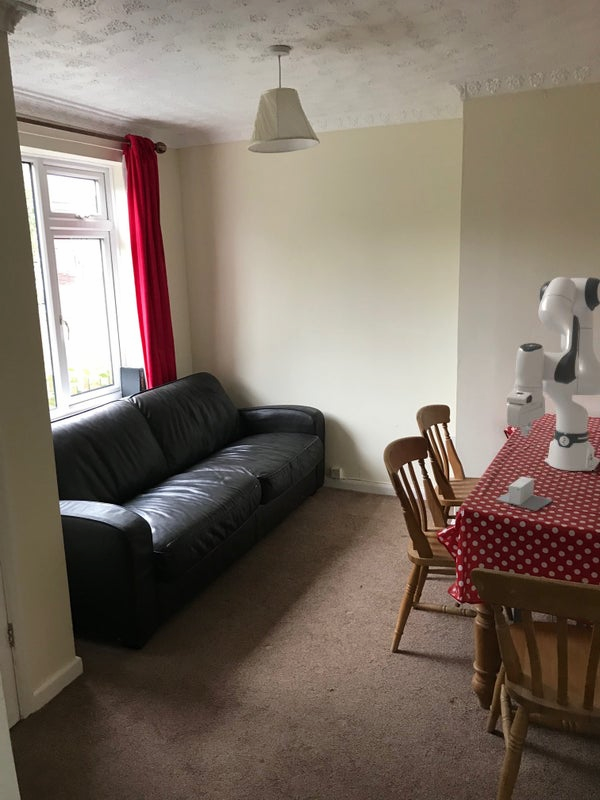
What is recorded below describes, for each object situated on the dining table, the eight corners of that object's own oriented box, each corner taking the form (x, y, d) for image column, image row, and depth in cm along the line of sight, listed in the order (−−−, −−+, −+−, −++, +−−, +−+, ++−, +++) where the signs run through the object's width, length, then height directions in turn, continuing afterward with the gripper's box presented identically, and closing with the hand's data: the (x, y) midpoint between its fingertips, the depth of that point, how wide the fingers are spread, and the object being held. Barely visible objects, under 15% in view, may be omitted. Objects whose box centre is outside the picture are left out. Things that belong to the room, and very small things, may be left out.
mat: (512, 491, 230) (512, 490, 230) (552, 501, 220) (552, 499, 220) (495, 500, 221) (495, 499, 221) (535, 510, 212) (536, 509, 212)
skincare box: (521, 476, 226) (508, 485, 216) (534, 478, 223) (521, 487, 214) (520, 493, 227) (507, 502, 218) (533, 495, 224) (520, 505, 215)
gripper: (533, 387, 226) (530, 427, 229) (504, 397, 212) (501, 439, 215) (551, 390, 222) (548, 430, 225) (522, 400, 207) (520, 443, 210)
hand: (525, 434), depth 219 cm, fingers closed
